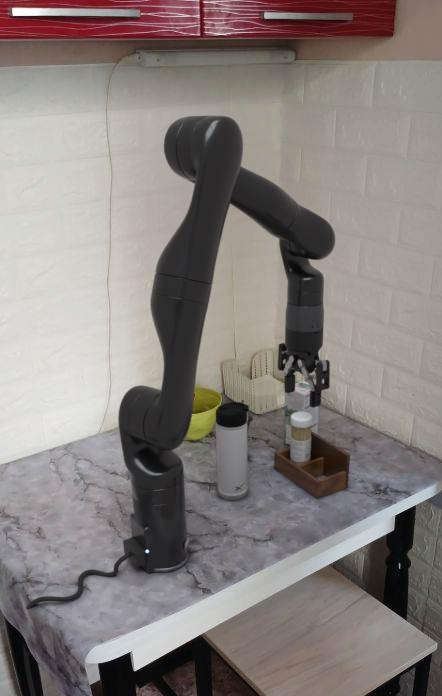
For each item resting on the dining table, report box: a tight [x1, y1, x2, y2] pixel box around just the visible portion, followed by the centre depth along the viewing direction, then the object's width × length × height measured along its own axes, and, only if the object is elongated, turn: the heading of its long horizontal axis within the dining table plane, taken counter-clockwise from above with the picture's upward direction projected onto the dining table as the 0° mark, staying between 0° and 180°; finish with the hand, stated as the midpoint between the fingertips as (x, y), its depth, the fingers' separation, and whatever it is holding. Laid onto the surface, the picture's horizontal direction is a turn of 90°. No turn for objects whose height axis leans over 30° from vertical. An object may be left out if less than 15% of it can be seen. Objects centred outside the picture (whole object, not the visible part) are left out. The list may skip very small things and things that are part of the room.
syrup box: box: [284, 379, 319, 446], centre depth 174 cm, size 6×6×14 cm
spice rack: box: [273, 431, 351, 500], centre depth 161 cm, size 8×15×8 cm, turn 32°
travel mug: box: [215, 401, 250, 501], centre depth 154 cm, size 6×7×20 cm
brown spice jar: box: [289, 412, 312, 465], centre depth 163 cm, size 5×5×14 cm
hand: (302, 399), depth 157 cm, fingers open, 8 cm apart
